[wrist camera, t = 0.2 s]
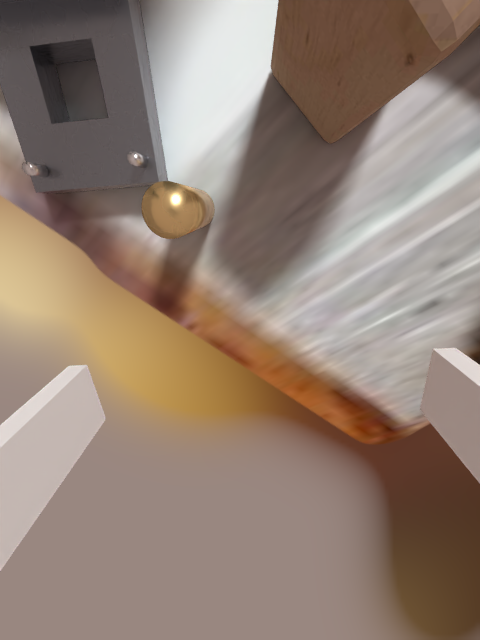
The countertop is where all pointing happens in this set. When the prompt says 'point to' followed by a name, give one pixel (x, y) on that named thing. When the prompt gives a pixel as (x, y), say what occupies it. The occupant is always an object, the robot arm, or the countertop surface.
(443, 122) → the countertop surface
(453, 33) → the wooden block
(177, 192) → the brass cylinder
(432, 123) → the countertop surface
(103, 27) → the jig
